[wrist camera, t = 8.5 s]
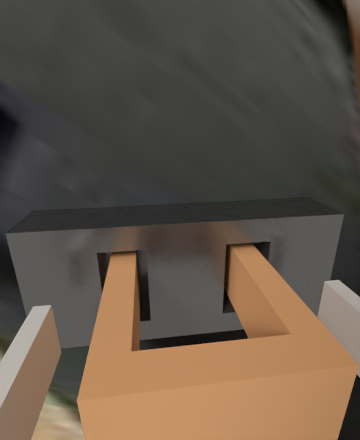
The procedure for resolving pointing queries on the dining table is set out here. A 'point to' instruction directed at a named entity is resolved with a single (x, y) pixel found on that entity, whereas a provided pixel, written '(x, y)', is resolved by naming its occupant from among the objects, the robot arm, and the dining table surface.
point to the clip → (216, 366)
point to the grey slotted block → (168, 260)
